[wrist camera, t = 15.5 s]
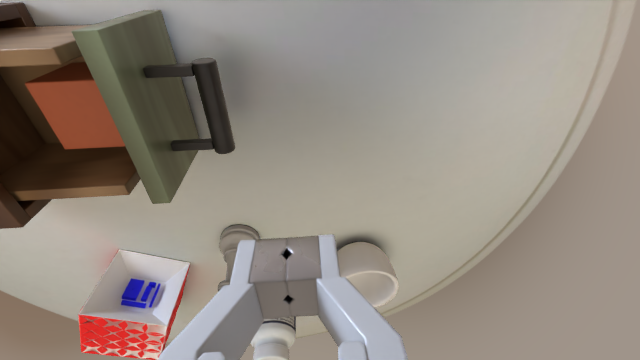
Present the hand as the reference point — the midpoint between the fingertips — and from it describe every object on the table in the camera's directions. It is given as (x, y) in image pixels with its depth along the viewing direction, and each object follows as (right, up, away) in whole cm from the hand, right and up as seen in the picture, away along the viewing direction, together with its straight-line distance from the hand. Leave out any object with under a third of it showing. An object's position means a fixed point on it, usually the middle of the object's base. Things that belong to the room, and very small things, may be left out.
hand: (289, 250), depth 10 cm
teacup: (+5, -8, +28) cm, 30 cm away
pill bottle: (-5, -12, +31) cm, 33 cm away
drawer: (-14, +9, +13) cm, 21 cm away
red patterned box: (-20, -10, +28) cm, 36 cm away
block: (-14, +9, +12) cm, 20 cm away
